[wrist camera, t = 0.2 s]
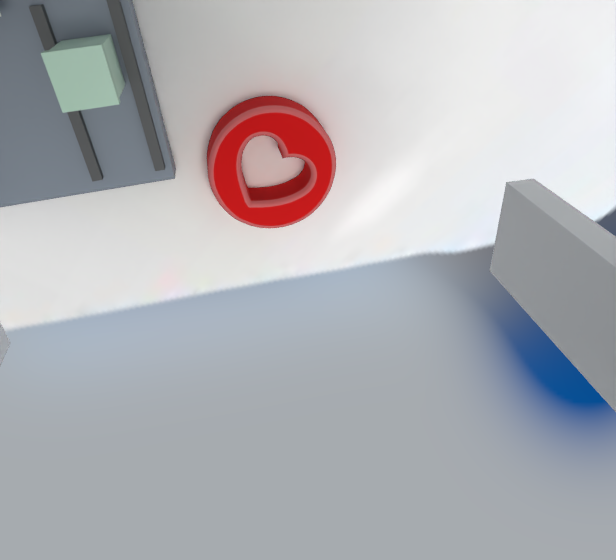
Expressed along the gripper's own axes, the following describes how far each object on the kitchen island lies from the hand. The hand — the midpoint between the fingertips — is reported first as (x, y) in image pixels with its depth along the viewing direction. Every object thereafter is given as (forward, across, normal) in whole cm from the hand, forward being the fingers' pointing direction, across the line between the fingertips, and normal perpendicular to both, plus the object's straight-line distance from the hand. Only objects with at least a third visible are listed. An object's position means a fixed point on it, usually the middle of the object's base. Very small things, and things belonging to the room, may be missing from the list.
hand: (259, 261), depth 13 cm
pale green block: (+25, -8, +1) cm, 26 cm away
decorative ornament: (+28, +3, -8) cm, 29 cm away
